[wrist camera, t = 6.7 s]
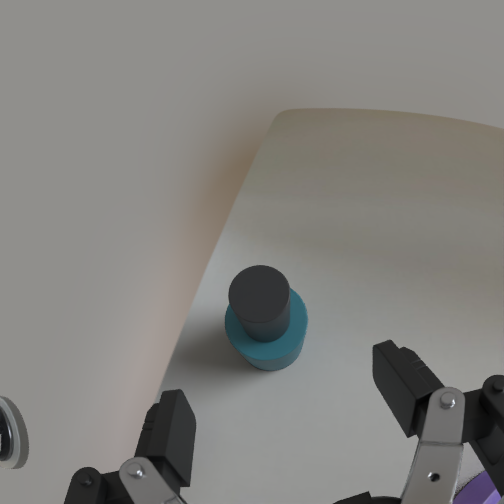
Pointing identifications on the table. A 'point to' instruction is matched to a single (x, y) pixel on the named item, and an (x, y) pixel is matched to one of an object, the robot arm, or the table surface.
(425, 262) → the table surface
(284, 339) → the teal and black cylinder
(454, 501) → the tape roll
